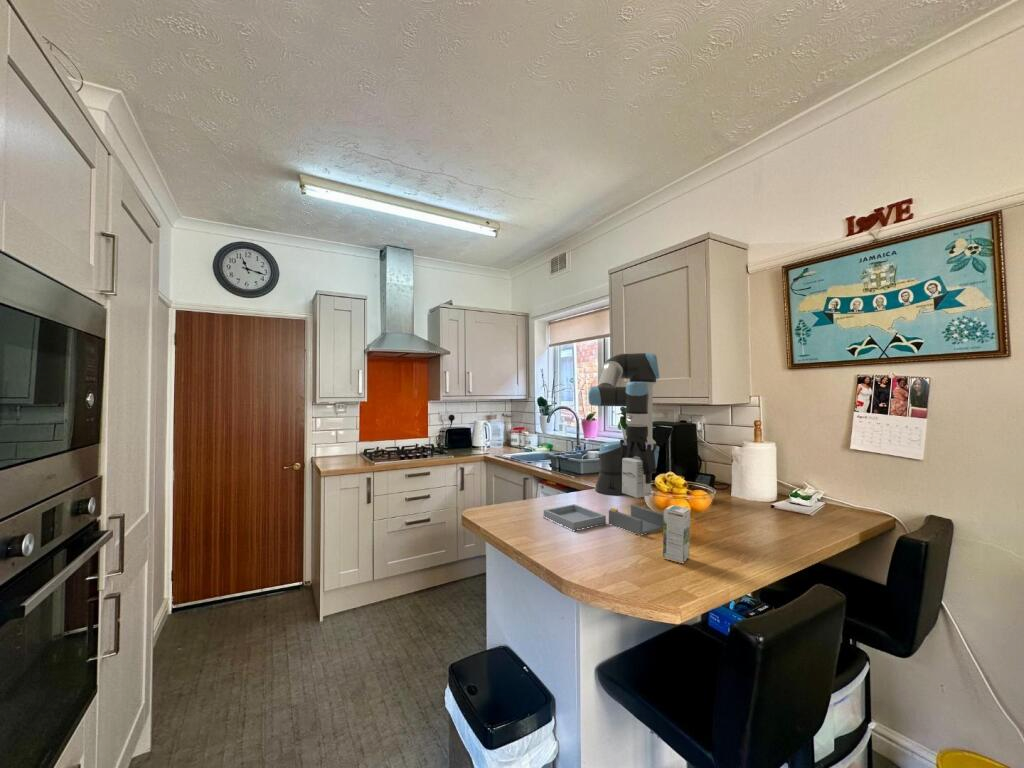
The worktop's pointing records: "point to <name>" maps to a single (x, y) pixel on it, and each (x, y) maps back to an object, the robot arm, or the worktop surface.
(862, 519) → the worktop surface
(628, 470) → the supplement box
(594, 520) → the tray
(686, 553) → the syrup box
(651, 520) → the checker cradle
